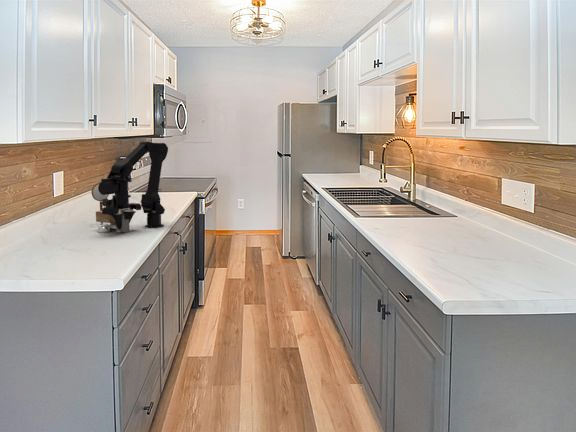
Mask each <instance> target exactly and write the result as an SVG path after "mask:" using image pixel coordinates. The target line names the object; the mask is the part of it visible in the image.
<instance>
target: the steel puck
mask: <svg viewBox="0 0 576 432" xmlns="http://www.w3.org/2000/svg"><path fill="white" fill-rule="evenodd" d="M97 233H99V234H106V233H107V234H109V233H111V228H110V226H104V225H99V226H97Z"/></svg>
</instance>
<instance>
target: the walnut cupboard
mask: <svg viewBox="0 0 576 432" xmlns="http://www.w3.org/2000/svg"><path fill="white" fill-rule="evenodd" d="M121 214H123V213H122V211H121ZM123 218H124V214H123ZM95 222H96V223H101V222H103V224H104V223H105V224H109V225H115V226H116V222H115V220H114V218H113V217H112V216H111V215H108V214H102V211H100V210H96V211H95Z"/></svg>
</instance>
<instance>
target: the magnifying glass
mask: <svg viewBox="0 0 576 432" xmlns="http://www.w3.org/2000/svg"><path fill="white" fill-rule="evenodd" d="M99 184H100V182H98V183H96V184H95V185H93V186H92V188H91V196H92V198H93V199H94V200H95V201H98V202H99V211H102V209H103V208H104V206H103V204H102V200H103V199H106V198H107V199H108V197H109V196H110V194H108V195H102V194H100V192H99V190H98V186H99ZM100 224H101V225H104V222H100Z"/></svg>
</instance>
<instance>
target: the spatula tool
mask: <svg viewBox="0 0 576 432" xmlns="http://www.w3.org/2000/svg"><path fill="white" fill-rule="evenodd" d="M103 226H110V229H115V231H116V232H120V233H121V232H128V231H130V223H129V219H125V218H122V224H121V229H118V227H117V225H116V226H115V225H110V224H109V223H105V224H103Z"/></svg>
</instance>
